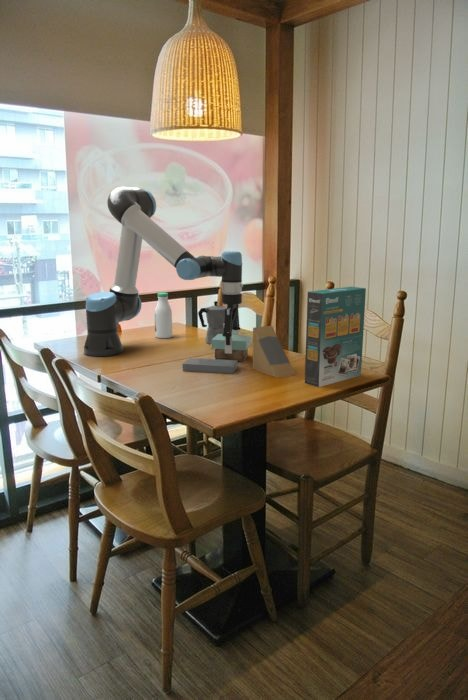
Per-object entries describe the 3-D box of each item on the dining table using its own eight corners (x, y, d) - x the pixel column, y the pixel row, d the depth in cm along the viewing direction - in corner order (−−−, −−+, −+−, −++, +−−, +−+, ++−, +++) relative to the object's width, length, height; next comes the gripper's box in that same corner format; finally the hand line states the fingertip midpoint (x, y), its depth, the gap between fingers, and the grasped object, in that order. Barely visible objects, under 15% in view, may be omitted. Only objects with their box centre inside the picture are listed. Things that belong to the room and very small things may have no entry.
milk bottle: (175, 336, 256) (174, 292, 252) (165, 339, 250) (164, 294, 246) (162, 334, 260) (161, 291, 256) (151, 337, 254) (150, 293, 250)
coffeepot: (222, 338, 252) (222, 298, 248) (234, 342, 245) (234, 301, 240) (192, 343, 243) (192, 301, 239) (204, 346, 236) (204, 304, 232)
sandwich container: (276, 378, 190) (277, 335, 186) (251, 368, 203) (252, 327, 199) (297, 375, 194) (298, 332, 191) (271, 365, 207) (272, 325, 204)
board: (182, 370, 198) (182, 363, 198) (189, 364, 207) (189, 357, 206) (232, 373, 195) (232, 366, 194) (237, 367, 204) (237, 360, 203)
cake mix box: (346, 371, 198) (351, 286, 191) (360, 375, 194) (365, 288, 187) (304, 383, 184) (307, 291, 177) (318, 387, 180) (322, 293, 173)
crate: (215, 359, 214) (215, 341, 213) (220, 354, 223) (220, 337, 221) (243, 361, 212) (243, 343, 211) (247, 355, 221) (247, 338, 219)
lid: (211, 348, 212) (211, 339, 212) (218, 342, 223) (218, 333, 222) (246, 350, 210) (246, 341, 209) (251, 344, 221) (251, 335, 220)
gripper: (235, 297, 200) (235, 357, 205) (247, 289, 222) (246, 343, 227) (214, 296, 201) (215, 356, 206) (228, 289, 224) (228, 342, 229)
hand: (231, 349), depth 217 cm, fingers closed on lid, 11 cm apart
